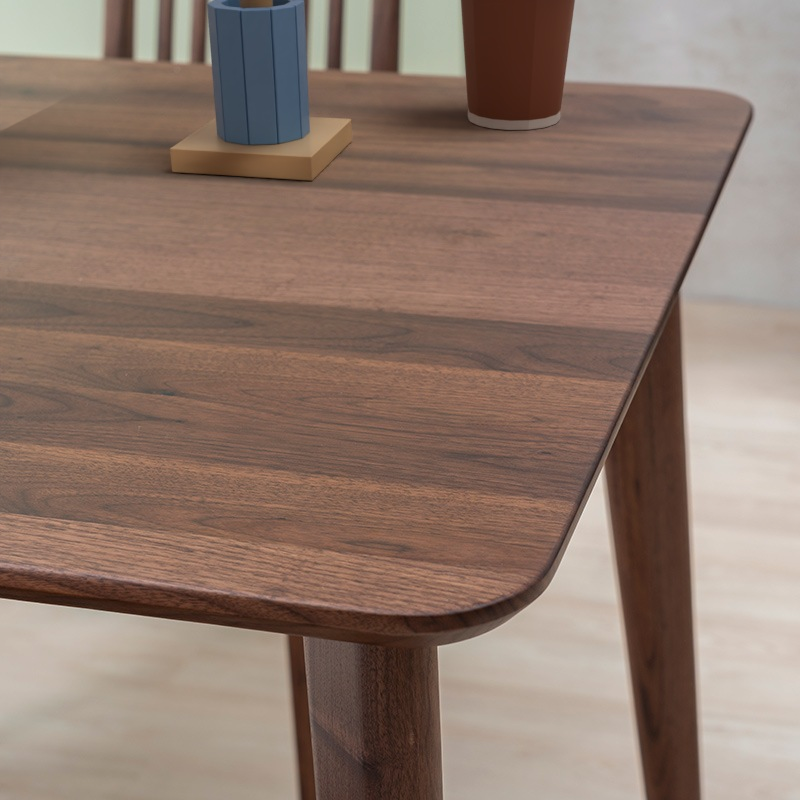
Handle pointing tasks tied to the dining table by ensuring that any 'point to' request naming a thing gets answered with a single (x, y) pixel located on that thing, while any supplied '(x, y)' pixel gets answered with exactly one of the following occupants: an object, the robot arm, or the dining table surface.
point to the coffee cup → (515, 61)
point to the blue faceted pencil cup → (259, 71)
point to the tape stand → (262, 147)
